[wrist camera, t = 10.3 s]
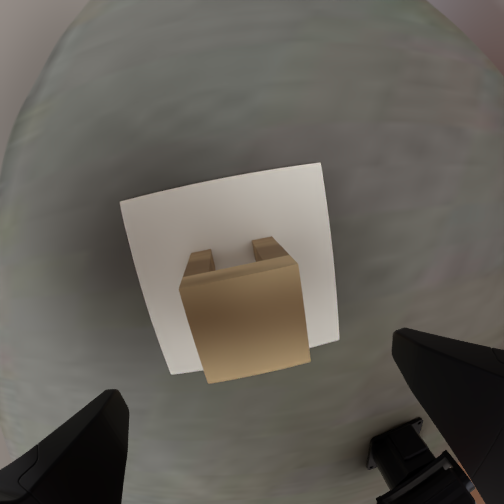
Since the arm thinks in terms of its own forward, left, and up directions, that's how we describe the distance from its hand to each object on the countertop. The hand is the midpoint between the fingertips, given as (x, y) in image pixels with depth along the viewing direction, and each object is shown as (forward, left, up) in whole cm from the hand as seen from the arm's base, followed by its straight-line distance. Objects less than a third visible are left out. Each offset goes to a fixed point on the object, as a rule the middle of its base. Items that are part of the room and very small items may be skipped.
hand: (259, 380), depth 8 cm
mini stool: (0, 0, -10) cm, 10 cm away
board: (0, 0, -11) cm, 11 cm away
